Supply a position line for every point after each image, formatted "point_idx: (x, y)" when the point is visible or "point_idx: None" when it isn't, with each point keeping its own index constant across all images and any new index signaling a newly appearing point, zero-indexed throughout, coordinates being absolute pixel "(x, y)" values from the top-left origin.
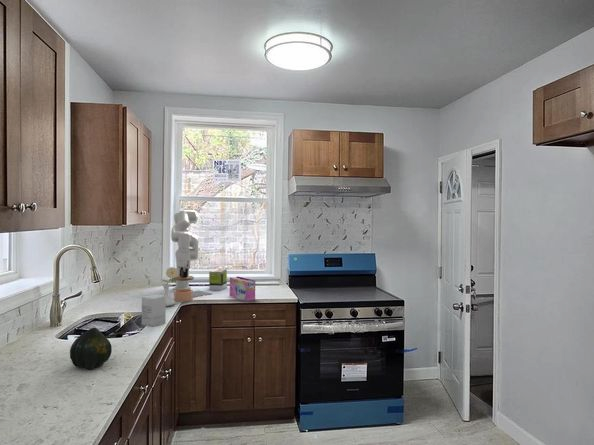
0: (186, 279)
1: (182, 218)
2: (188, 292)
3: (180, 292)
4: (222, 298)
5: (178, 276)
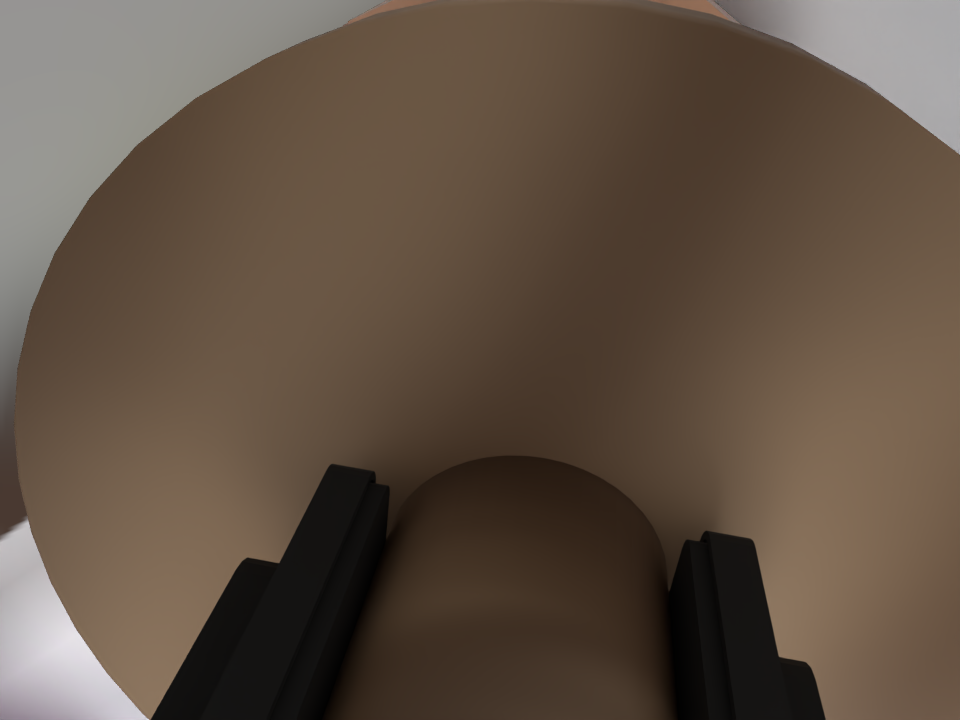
0: (43, 325)
1: None
2: None
3: (384, 4)
4: (70, 622)
5: (924, 575)
